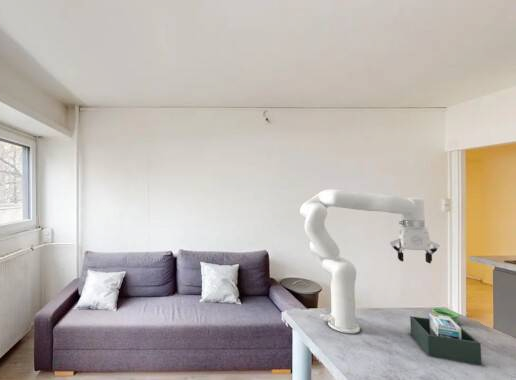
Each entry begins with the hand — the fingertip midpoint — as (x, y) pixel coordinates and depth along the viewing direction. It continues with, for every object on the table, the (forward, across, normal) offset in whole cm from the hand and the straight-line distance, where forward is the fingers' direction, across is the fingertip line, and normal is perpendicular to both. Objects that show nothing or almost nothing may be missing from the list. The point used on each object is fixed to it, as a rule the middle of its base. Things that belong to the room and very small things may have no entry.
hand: (414, 261), depth 120 cm
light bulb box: (+30, +3, -16) cm, 34 cm away
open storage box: (+30, +3, -15) cm, 34 cm away
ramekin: (+31, +15, +13) cm, 36 cm away
